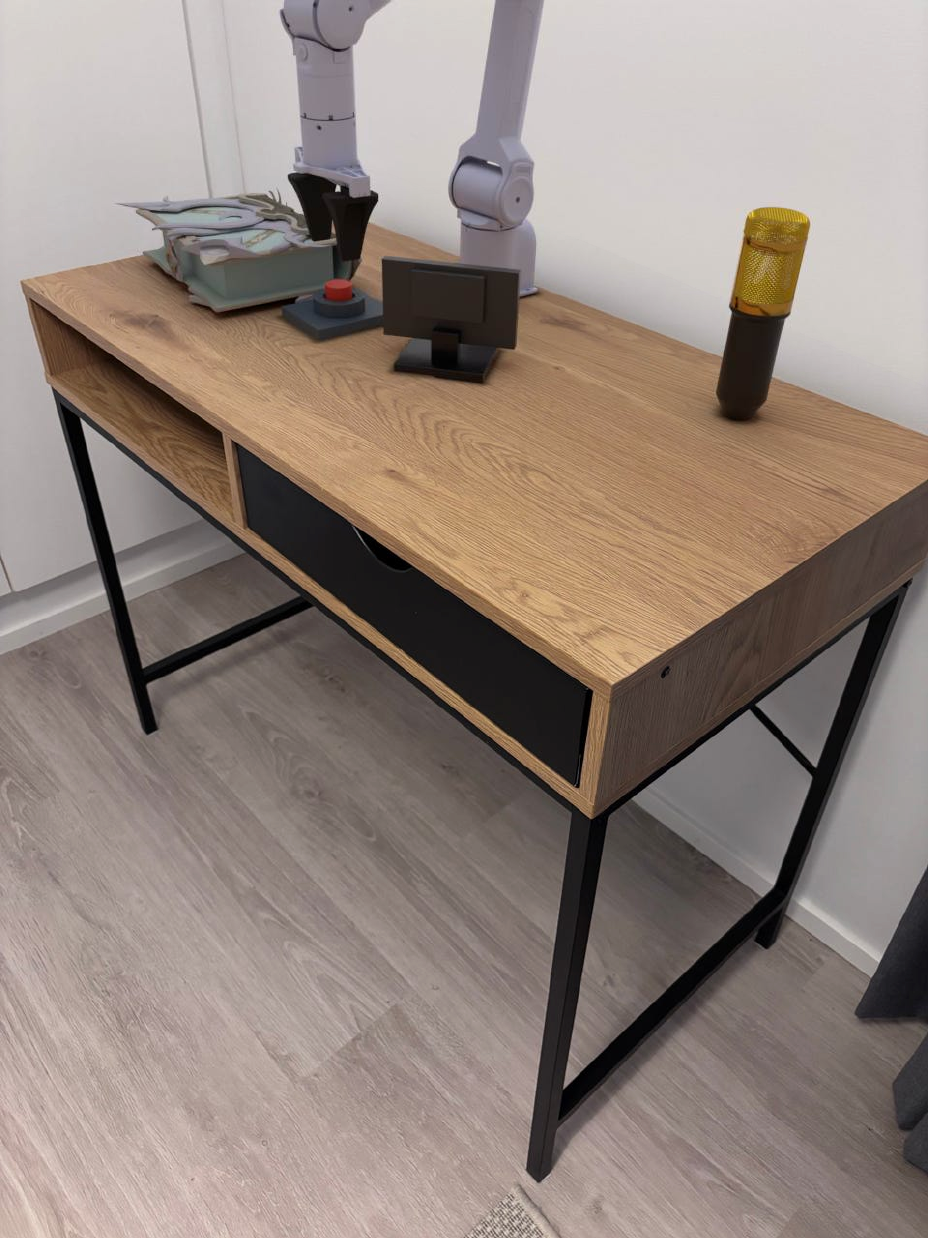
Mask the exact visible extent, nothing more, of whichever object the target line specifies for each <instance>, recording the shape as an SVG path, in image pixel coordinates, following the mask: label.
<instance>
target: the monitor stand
mask: <svg viewBox="0 0 928 1238" xmlns="http://www.w3.org/2000/svg"><path fill="white" fill-rule="evenodd" d="M500 351H501V348H493V347H485V346H476V345H468V344H461V330H455V329H446V328H437V327H434V329H433V330H432V332H431V340H425V339H416V338H411V340H410V341H409V343H408V344H407V345H406V346H405V348H404V349H403V351H402V352H401V353H400V355H399V356H398V357H397V359H396V360H395V362H394V363H393V372H398V373H404V374H413V375H421V376H429V377H430V376H431V377H434V378H437V379H439V378H440V379H447V380H455V381H463V382H471V383H479V384H480V383H481V384H484V382H485V380H486V378H487V376H488V374H489V372H490V370H491V368H492V367H493V365H494V363H495V361H496V358H497V357H498V355H499V353H500Z"/></svg>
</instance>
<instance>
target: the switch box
mask: <svg viewBox="0 0 928 1238" xmlns="http://www.w3.org/2000/svg"><path fill="white" fill-rule="evenodd" d="M281 317H282V318H283V319H285V320H286V321H288V322H290V323H291V324H293V325H294V326H296V327H297V328H299V330H302V331H304V332H305V333H306V334H308V335H309V336H311V337H313V338H314V339H316V340H317V341H319V342H320V341H323V340H324V341H325V340H329V339H332V338H337V337H339V336H340V337H341V336H345V335H349V334H353V333H357V332H361V331H366V330H369V329H374V328H377V327H381V326H382V327H383V301H382V302H381V301H380V300H378V299H376V298H374V297H373V296H371V295H369V294H367V293H366V292H364V291H363V290H360V289H358V288H353V287H352V299H351V300H347V301H330V300H327V299H326V296H325V289H321V290H319V291H317V292H315V293H314V294H313V300H309V301H304V302H300V303H291V304H286V305H282V306H281Z"/></svg>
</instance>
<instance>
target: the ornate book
mask: <svg viewBox="0 0 928 1238" xmlns="http://www.w3.org/2000/svg"><path fill="white" fill-rule="evenodd" d="M276 190H277V195H278V201H277V198H276V196H275V194H274V192H273V191H272V190H268V193H269V194H270V195H271V197H272V198H271V197H269V195H268V194H266V193H265V192H250V193H238V194H236V195H229V196H222V197H221V196H220V197H215V198H196V199H195V198H194V199H187V200H175V201H173V200H169V196H168V195H167V196H164V197H163V198H162V201H145V202H143V201H142V202H140V201H139V202H114V203H113V204H115V205H118V206H124V207H128V208H133V209H135V213H136V214H137V215H138V216H140V217H142V218H143V219H145V220H147V221H149V222H150V223H151V224H153V226H154V227H152V228H151V231H156V230H159V231H161V232H162V239H163V245H162V246H161V247H159V248H157V249H151V250H144V251H142V255H143V256H144V257H145V258H147V259H149V260H151V261H152V262H153V263H155V264H156V265H158V266H159V267H160V268H161V269H162V270H163V271H164V272H165V274H167V275H169V276H172V277H173V278H174V279H175V280H176V281H178V282H181V283H184V284H186V285H187V286H188V287H187V290H188V291H189V293H191V294H190V295H188V302H190V303H195V304H199V305H202V306H206V307H208V308H209V307H210V308H211V309H212V311H214V312H215V313H221V312H226V311H232V310H237V309H241V308H247V307H253V306H258V305H262V304H267V303H273V302H277V301H283V300H288V299H293V298H296V299H295V300H294V301H295V303H300V302H304V301H309V300H313V294H314V293H315V292H317V291H319V290H321V289H325V283H326V282H327V281H330V280H335V279H342V280H347V281H350V282H351V280H352V279H353V278H354V277H355V274H356V272H357V271H358V268H359V267H360V265H361V264H362V262H363V258H362V256H361V257H360V259H357V260H351V261H345V262H344V261H342V260H341V258H340V256H339V252H338V247H337V241H336V234H335V232H333V231H332V232H331V237H330V239H329V240H323V241H316V242H313V241H312V240H311V237H310V234H309V231H308V227H307V224H306V220H305V217H304V213H299V212H296V211H295V209H294V208H293V207H290V206H288V201H285V204H283V203H282V196H281V193H280V191H279V189H278V188H276ZM295 303H294V304H295Z"/></svg>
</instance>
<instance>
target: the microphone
mask: <svg viewBox="0 0 928 1238" xmlns="http://www.w3.org/2000/svg"><path fill="white" fill-rule="evenodd" d="M810 228H811V220H810V218H809V217H808V215H806V214H805V213H803V212H801V211H798V210H796V209H791V208H787V207H779V206H778V207H777V206H764V207H758V208H755V209H753V210H751V211H750V212H749V213H748V214H747V216H746V219H745V224H744V229H743V231H742V236H741V241H740V247H739V252H738V257H737V263H736V267H735V272H734V278H733V282H732V283H733V284H732V288H731V293H730V298H729V303H728V309H729V310H730V311H731V313H730V318H729V324H728V328H727V334H726V339H725V344H724V349H723V353H722V359H721V365H720V370H719V373H718V374H719V375H718V380H717V384H716V391H715V395H716V398H717V400H718V403H719V405H720V408H721V410H722V413H723V415H724V416H725V417H727V418H729V419H731V420H734V421H747V420H749V419H750V418H751V417H753V415H755V413H756V412H758V410H759V409H760V408H761V407H762V406H763V405H764V404H766V402H767V399H768V395H769V391H770V386H771V383H772V378H773V373H774V369H775V365H776V360H777V356H778V351H779V347H780V343H781V340H782V339H781V338H782V335H783V330H784V325H785V321H786V319H787V318H788V317H790V315H791V313H792V309H793V305H794V300H795V294H796V290H797V286H798V280H799V276H800V272H801V269H802V263H803V260H804V256H805V250H806V247H807V244H808V239H809V233H810Z"/></svg>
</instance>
